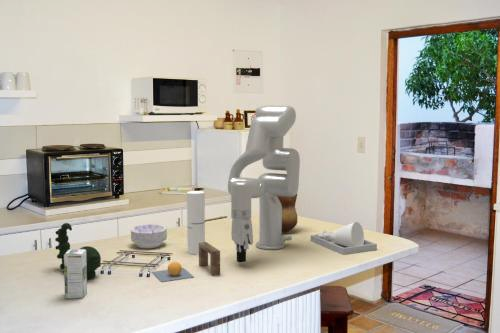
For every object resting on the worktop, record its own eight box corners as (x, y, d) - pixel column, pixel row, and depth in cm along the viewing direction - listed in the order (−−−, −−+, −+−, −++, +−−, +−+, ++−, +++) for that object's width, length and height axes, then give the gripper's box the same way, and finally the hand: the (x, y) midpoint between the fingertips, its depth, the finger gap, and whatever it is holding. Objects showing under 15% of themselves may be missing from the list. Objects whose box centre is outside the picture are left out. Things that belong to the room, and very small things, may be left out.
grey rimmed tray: (341, 236, 248) (342, 231, 248) (376, 249, 225) (376, 244, 225) (310, 240, 240) (310, 235, 240) (343, 254, 218) (343, 248, 218)
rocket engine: (317, 220, 237) (353, 216, 226) (329, 233, 244) (365, 230, 233) (311, 243, 231) (349, 240, 220) (324, 256, 238) (361, 254, 227)
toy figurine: (51, 275, 197) (88, 284, 180) (46, 224, 196) (83, 228, 179) (74, 269, 204) (112, 277, 187) (70, 220, 203) (108, 223, 186)
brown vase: (298, 235, 251) (298, 182, 248) (269, 235, 251) (269, 182, 248) (296, 228, 265) (296, 178, 262) (269, 228, 265) (269, 178, 262)
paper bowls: (142, 252, 221) (142, 233, 220) (124, 245, 232) (124, 227, 232) (173, 246, 231) (173, 228, 230) (155, 239, 242) (154, 222, 242)
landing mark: (183, 268, 200) (183, 267, 200) (194, 277, 189) (194, 276, 189) (151, 272, 195) (151, 271, 195) (161, 282, 184) (161, 281, 184)
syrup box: (69, 292, 174) (67, 248, 172) (87, 292, 174) (86, 248, 172) (64, 299, 168) (62, 253, 166) (84, 298, 168) (82, 253, 167)
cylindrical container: (202, 254, 218) (201, 193, 215) (185, 253, 219) (184, 193, 216) (207, 250, 225) (206, 191, 222) (190, 249, 226) (190, 190, 223)
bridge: (206, 264, 205) (206, 241, 204) (220, 274, 192) (220, 250, 191) (198, 265, 204) (198, 242, 203) (212, 275, 191) (212, 251, 190)
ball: (170, 276, 193) (181, 267, 195) (174, 280, 189) (186, 271, 190) (163, 265, 192) (174, 257, 193) (167, 269, 187) (179, 260, 189)
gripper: (259, 216, 196) (259, 265, 198) (242, 209, 210) (242, 255, 212) (240, 218, 193) (240, 268, 195) (224, 211, 206) (224, 257, 208)
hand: (241, 261), depth 203 cm, fingers closed
